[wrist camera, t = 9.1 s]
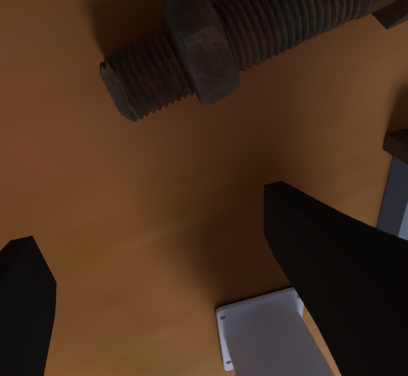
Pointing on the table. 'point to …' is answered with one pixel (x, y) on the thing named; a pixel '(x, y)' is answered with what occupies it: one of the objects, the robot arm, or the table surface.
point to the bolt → (222, 46)
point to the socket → (395, 201)
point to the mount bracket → (397, 144)
